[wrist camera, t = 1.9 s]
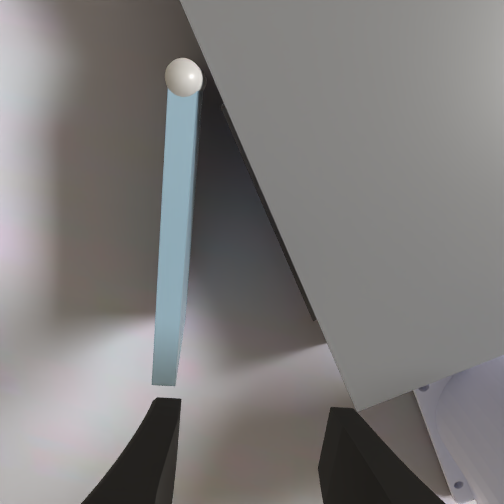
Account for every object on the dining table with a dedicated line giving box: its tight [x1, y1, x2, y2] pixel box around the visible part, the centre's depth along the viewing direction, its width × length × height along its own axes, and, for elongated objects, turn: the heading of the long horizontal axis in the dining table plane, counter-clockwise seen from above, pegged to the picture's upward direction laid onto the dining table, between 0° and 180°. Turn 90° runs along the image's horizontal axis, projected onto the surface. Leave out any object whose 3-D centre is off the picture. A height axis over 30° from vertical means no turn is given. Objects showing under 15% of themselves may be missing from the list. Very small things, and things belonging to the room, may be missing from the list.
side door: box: [152, 58, 206, 386], centre depth 16 cm, size 10×1×5 cm, turn 173°
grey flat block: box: [180, 0, 504, 412], centre depth 16 cm, size 20×10×5 cm, turn 23°
